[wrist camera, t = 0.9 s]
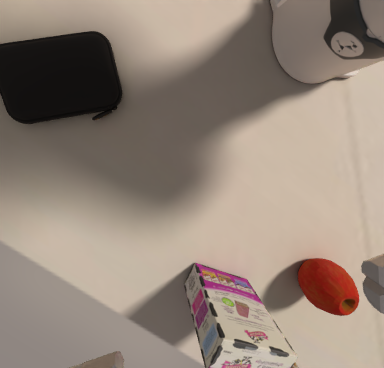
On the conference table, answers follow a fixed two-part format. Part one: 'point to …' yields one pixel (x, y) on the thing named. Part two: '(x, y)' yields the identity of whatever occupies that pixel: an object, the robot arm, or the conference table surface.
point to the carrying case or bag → (59, 77)
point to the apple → (328, 286)
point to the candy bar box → (234, 323)
